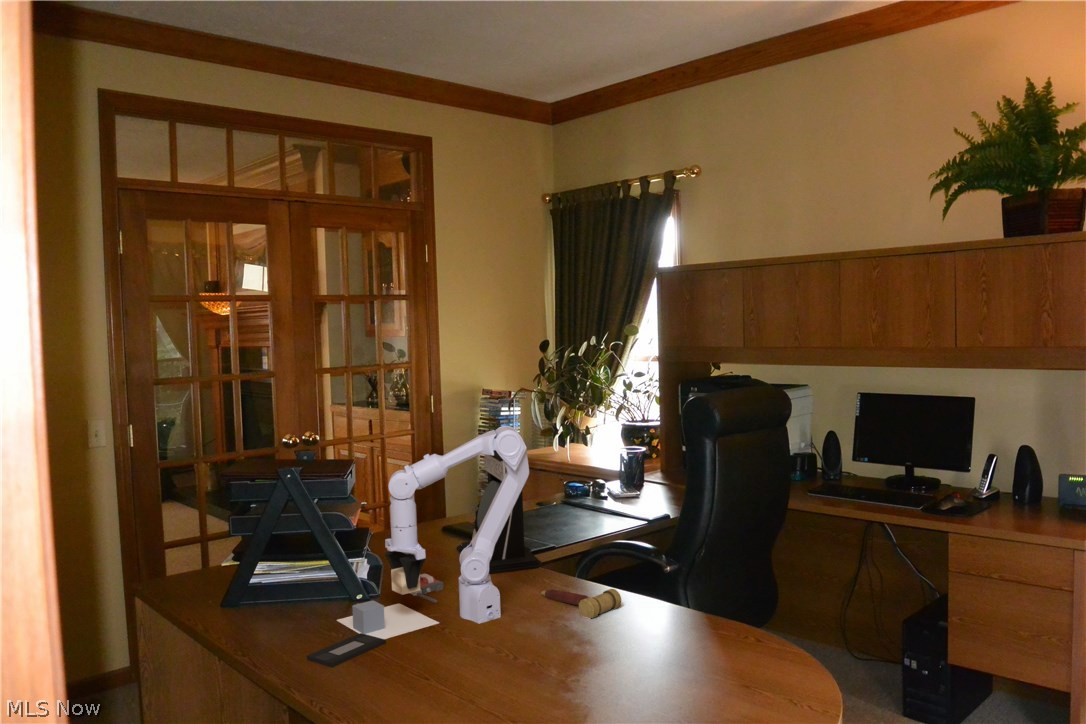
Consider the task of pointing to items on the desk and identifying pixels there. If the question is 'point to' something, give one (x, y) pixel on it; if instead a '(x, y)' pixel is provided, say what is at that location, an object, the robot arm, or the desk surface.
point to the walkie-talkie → (428, 586)
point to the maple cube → (401, 582)
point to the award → (511, 539)
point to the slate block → (368, 617)
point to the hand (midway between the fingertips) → (406, 585)
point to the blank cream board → (396, 621)
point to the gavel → (587, 601)
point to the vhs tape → (345, 650)
